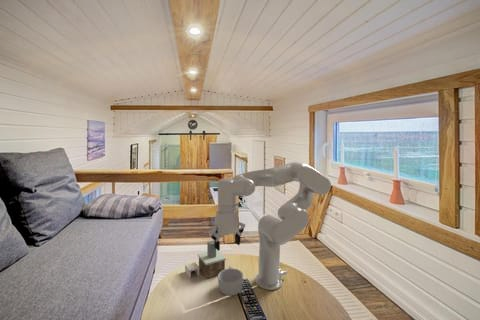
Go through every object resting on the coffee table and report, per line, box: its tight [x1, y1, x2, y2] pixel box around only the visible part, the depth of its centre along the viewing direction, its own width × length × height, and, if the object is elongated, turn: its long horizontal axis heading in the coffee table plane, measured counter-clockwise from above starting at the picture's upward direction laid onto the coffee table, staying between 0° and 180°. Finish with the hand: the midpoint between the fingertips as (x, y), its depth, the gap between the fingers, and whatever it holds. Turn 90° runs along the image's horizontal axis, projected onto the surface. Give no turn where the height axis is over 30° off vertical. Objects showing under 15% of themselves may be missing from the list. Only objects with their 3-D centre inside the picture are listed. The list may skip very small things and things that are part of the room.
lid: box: [197, 240, 227, 265], centre depth 121 cm, size 10×10×8 cm
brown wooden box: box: [198, 257, 226, 280], centre depth 122 cm, size 10×10×8 cm
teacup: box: [217, 266, 244, 297], centre depth 109 cm, size 14×11×8 cm
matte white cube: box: [184, 261, 200, 279], centre depth 120 cm, size 5×6×5 cm
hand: (227, 246), depth 106 cm, fingers open, 9 cm apart
